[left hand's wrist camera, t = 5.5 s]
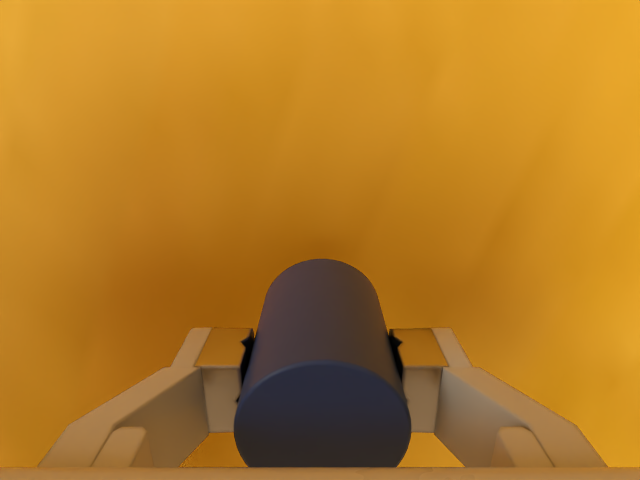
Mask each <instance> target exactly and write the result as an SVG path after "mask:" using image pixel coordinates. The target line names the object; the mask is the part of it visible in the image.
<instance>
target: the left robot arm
mask: <svg viewBox="0 0 640 480" xmlns="http://www.w3.org/2000/svg"><path fill="white" fill-rule="evenodd" d="M389 339H390V343H391V347H392V350H393V354H394V358H395V361H396V365H397V369H398V372H399V376H400V379H401V383H402V387H403V390H404V394H405V398H406V401H407V405H408V408H409V412H410V417H411V426H412V430H411V432H426V433H434V435H435V436H436V437H437V438H438V439H439V440H440V441H441V442H442V443H443V444H444V445H445V446H446V447H447V448H448V449H449V450H450V451H451V452H452V453H453V454H454V455H455V456H456V458H457V459H458V460H459V461H460V462H461V463H462V464H463V465H464V466H465V467H178V466H179V465H180V464H181V463H182V462H183V461H184V460H185V459H186V458H187V457H188V456H189V455H190V454H191V453H192V452H193V451H194V450H195V449H196V448H197V447H198V446H199V445H200V443H201V442H202V441H203V440H204V439H205V438H206V437H207V436H208V435H209V433H217V432H234V428H233V427H234V417H235V413H236V410H237V406H238V402H239V398H240V394H241V390H242V386H243V382H244V379H245V375H246V371H247V367H248V363H249V359H250V355H251V352H252V348H253V344H254V331H253V329H252V328H212V327H202V328H192V329H191V330H190V331H189V333H188V335H187V337H186V339H185V341H184V343H183V344H182V346H181V348H180V350H179V352H178V354H177V355H176V357H175V359H174V361H173V363H172V365H171V367H164V368H162V369H160V370H159V371H157V372H155V373H154V374H152V375H150V376H149V377H147V378H145V379H144V380H142V381H140V382H139V383H137V384H135V385H134V386H132V387H130V388H129V389H127V390H125V391H124V392H122V393H121V394H119V395H117V396H116V397H114V398H112V399H111V400H109V401H107V402H106V403H104V404H102V405H101V406H99V407H97V408H96V409H94V410H92V411H91V412H89V413H87V414H86V415H84V416H82V417H81V418H79V419H77V420H76V421H74V422H72V423H71V424H69V425H68V426H67V428H66V429H65V430H64V432H63V433H62V434H61V435H60V437H59V438H58V439H57V441H56V442H55V443H54V445H53V446H52V447H51V449H50V450H49V451H48V453H47V454H46V455H45V457H44V458H43V459H42V461H41V462H40V463H39V465H38V466H37V467H0V480H640V467H608V466H607V465H606V464H605V462H604V461H603V460H602V459H601V457H600V456H599V455H598V453H597V452H596V451H595V449H594V448H593V447H592V445H591V444H590V443H589V441H588V440H587V439H586V437H585V436H584V435H583V433H582V432H581V431H580V429H579V428H578V427H577V426H576V425H575V424H573V423H571V422H570V421H568V420H566V419H565V418H563V417H561V416H560V415H558V414H556V413H555V412H553V411H551V410H550V409H548V408H546V407H545V406H543V405H541V404H540V403H538V402H536V401H535V400H533V399H531V398H530V397H528V396H526V395H525V394H523V393H521V392H520V391H518V390H516V389H515V388H513V387H511V386H510V385H508V384H506V383H505V382H503V381H501V380H500V379H498V378H496V377H495V376H493V375H491V374H490V373H488V372H486V371H485V370H483V369H481V368H480V367H473V366H472V364H471V362H470V361H469V359H468V357H467V355H466V353H465V352H464V350H463V348H462V346H461V344H460V343H459V341H458V339H457V337H456V336H455V334H454V332H453V330H452V329H451V328H449V327H440V328H412V329H390V331H389Z"/></svg>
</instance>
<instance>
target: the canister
mask: <svg viewBox="0 0 640 480" xmlns="http://www.w3.org/2000/svg"><path fill="white" fill-rule="evenodd" d="M233 428H234V437H235V441H236V445H237V448H238V451H239V453H240V455H241V457H242V458H243V460H244V462H245V463H246V464H247V466H248V467H397V466H398V464H399V463H400V462H401V460H402V458H403V457H404V455H405V453H406V451H407V449H408V445H409V442H410V438H411V430H412V426H411V417H410V412H409V408H408V405H407V401H406V398H405V394H404V390H403V387H402V383H401V379H400V376H399V372H398V369H397V365H396V361H395V358H394V354H393V350H392V347H391V343H390V339H389V336H388V332H387V329H386V325H385V321H384V318H383V314H382V310H381V307H380V303H379V300H378V296H377V293H376V291H375V289H374V287H373V285H372V284H371V282H370V281H369V280H368V279H367V277H366V276H365V275H363V274H362V273H361V272H360V271H359V270H357V269H356V268H354V267H352V266H350V265H348V264H346V263H343V262H340V261H336V260H330V259H313V260H307V261H303V262H300V263H298V264H295V265H293V266H291V267H289V268H288V269H286V270H285V271H284V272H282V273H281V274H280V275H279V276H278V277H277V278H276V279H275V280H274V282H273V283H272V284H271V286H270V288H269V290H268V292H267V294H266V298H265V301H264V305H263V309H262V313H261V317H260V321H259V325H258V328H257V332H256V336H255V340H254V344H253V348H252V352H251V355H250V359H249V363H248V367H247V371H246V375H245V379H244V382H243V386H242V390H241V394H240V398H239V402H238V406H237V410H236V413H235V417H234V427H233Z"/></svg>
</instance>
